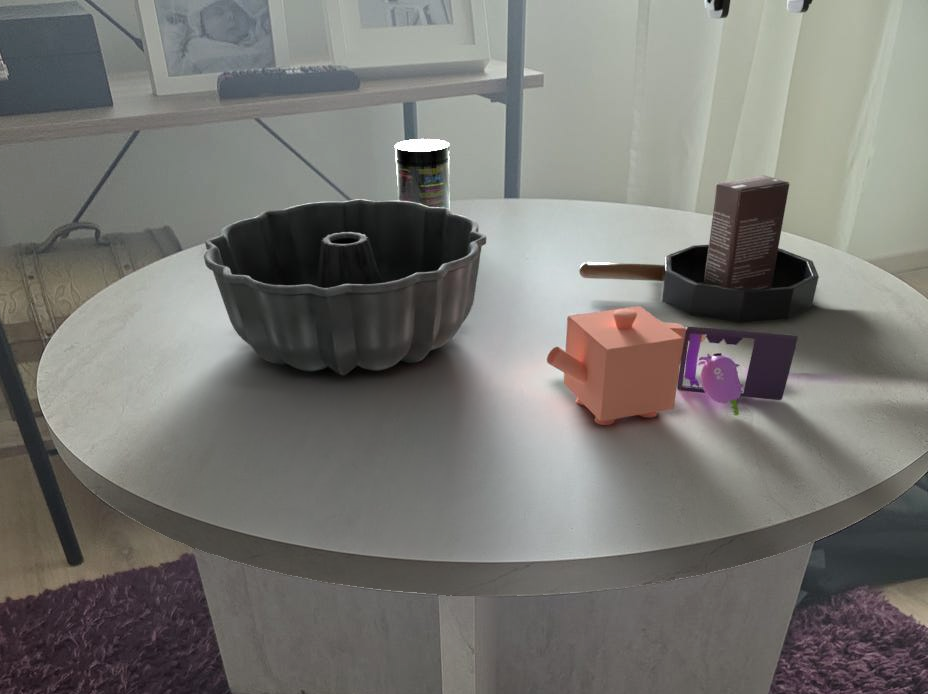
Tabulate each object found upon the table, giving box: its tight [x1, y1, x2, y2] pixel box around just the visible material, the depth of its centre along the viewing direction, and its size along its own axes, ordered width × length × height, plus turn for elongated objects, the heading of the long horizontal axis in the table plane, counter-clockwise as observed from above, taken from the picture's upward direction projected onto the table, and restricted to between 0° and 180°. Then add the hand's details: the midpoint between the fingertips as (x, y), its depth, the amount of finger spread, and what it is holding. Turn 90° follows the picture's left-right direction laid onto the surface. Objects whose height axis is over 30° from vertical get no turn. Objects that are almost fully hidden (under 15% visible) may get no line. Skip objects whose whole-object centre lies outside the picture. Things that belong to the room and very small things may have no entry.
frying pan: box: [578, 244, 820, 324], centre depth 97 cm, size 24×16×4 cm, turn 80°
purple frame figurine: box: [676, 325, 799, 417], centre depth 77 cm, size 7×5×9 cm
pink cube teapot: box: [546, 305, 686, 426], centre depth 76 cm, size 8×12×8 cm, turn 107°
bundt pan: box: [203, 198, 487, 376], centre depth 89 cm, size 26×26×10 cm
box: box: [703, 174, 791, 290], centre depth 94 cm, size 6×4×12 cm
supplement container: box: [394, 138, 451, 210], centre depth 116 cm, size 7×7×10 cm
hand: (757, 14), depth 82 cm, fingers open, 8 cm apart
